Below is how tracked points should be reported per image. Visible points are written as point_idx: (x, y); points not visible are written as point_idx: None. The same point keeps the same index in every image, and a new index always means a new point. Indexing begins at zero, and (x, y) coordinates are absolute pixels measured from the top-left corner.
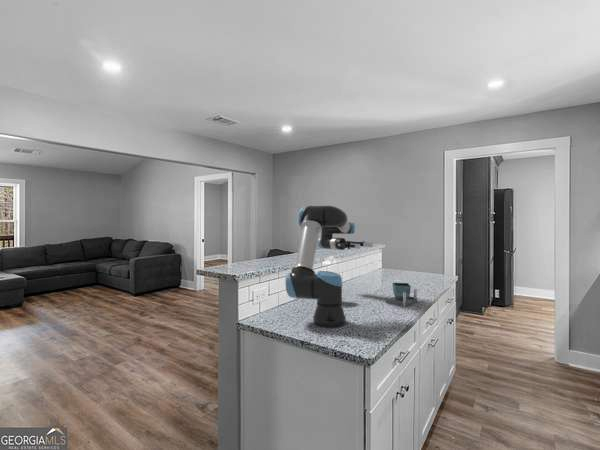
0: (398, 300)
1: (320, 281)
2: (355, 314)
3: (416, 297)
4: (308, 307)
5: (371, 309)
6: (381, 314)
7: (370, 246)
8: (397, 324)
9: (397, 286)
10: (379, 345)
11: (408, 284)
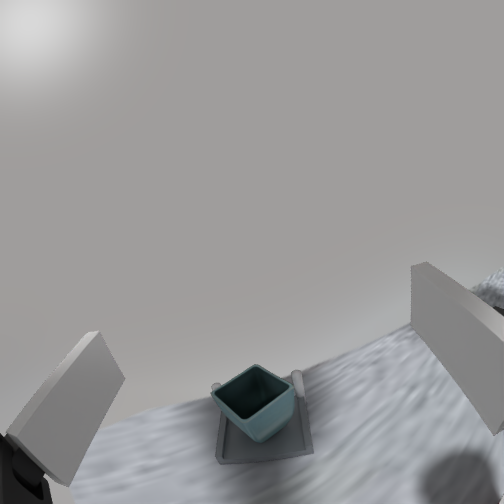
0: (301, 410)
1: None
2: None
3: None
4: None
5: (419, 413)
6: (421, 373)
7: (113, 389)
8: None
9: (288, 384)
10: (488, 280)
11: (232, 380)
